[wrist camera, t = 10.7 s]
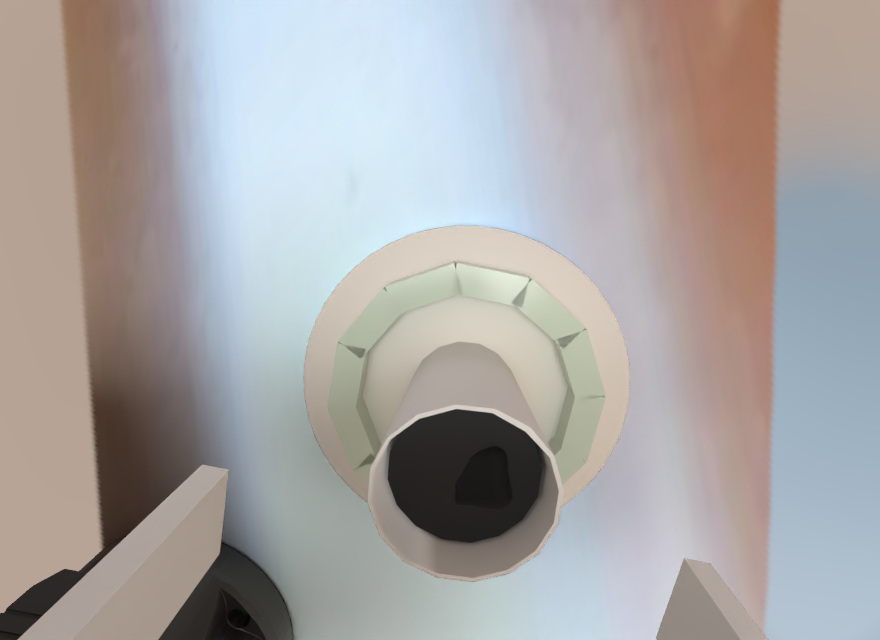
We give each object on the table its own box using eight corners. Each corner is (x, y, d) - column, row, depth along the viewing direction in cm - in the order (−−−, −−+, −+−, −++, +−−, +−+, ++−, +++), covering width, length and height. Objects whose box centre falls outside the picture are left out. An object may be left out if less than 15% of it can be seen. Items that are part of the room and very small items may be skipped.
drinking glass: (519, 328, 24) (559, 396, 15) (527, 443, 26) (568, 577, 16) (396, 338, 25) (354, 412, 15) (410, 451, 26) (379, 586, 16)
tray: (292, 489, 28) (274, 517, 26) (334, 195, 25) (318, 192, 22) (576, 548, 28) (588, 582, 26) (662, 262, 24) (687, 266, 22)
